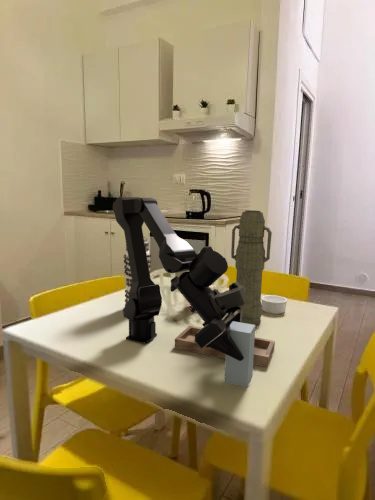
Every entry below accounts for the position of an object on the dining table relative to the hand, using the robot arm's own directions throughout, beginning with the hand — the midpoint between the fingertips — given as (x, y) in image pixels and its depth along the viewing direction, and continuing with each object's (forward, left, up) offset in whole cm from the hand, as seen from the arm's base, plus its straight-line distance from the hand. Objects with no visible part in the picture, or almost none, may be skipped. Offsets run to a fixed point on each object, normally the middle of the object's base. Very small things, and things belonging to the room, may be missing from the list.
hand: (246, 351), depth 74 cm
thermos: (-7, +35, -7) cm, 36 cm away
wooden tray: (-8, +13, -7) cm, 17 cm away
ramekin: (-1, +50, -7) cm, 51 cm away
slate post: (-1, 0, -7) cm, 7 cm away
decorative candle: (-44, +30, -7) cm, 54 cm away
